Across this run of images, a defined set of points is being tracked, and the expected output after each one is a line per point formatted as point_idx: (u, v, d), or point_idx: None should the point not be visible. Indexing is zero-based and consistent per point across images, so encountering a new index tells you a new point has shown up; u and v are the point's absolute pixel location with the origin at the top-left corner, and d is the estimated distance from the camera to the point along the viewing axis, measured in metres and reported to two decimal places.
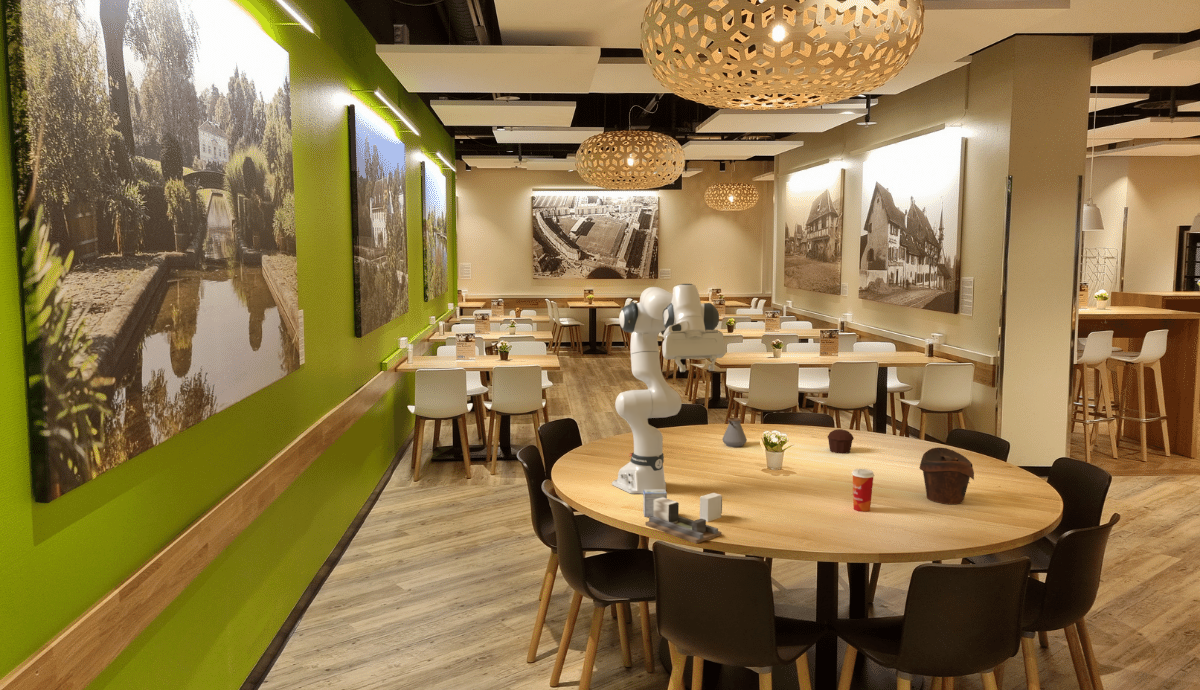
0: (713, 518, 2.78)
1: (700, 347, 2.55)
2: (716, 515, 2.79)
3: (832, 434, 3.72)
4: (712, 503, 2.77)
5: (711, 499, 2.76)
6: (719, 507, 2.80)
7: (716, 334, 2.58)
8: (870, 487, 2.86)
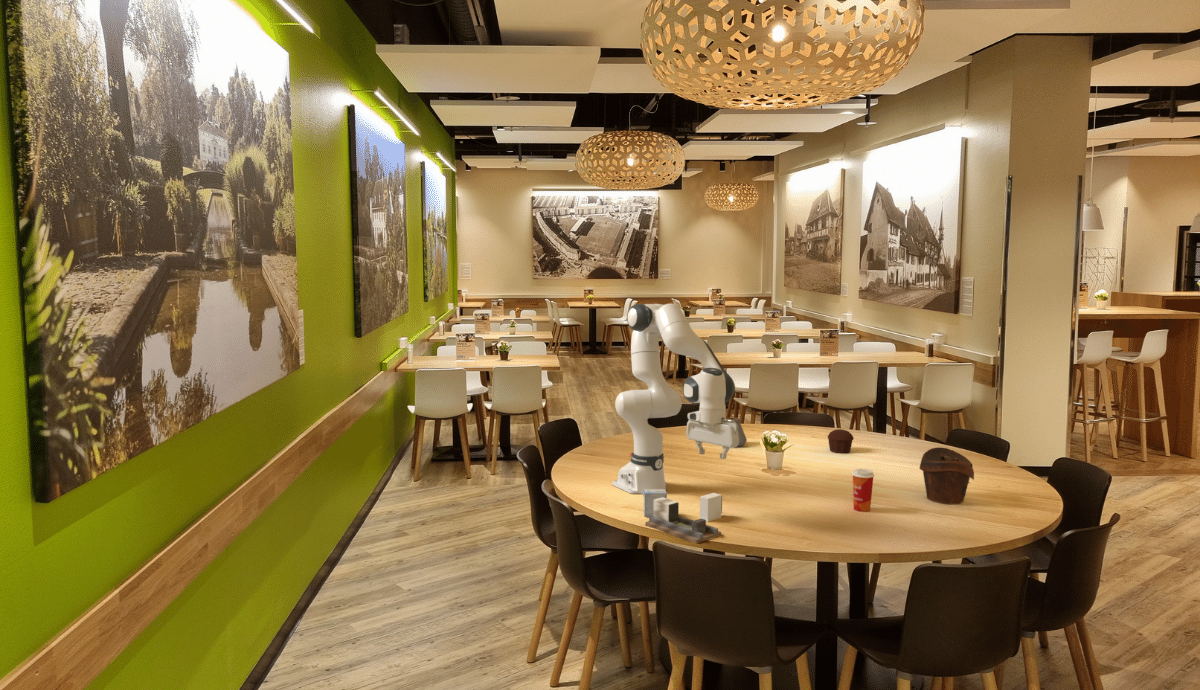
0: (713, 518, 2.78)
1: (712, 437, 2.73)
2: (716, 515, 2.79)
3: (832, 434, 3.72)
4: (712, 503, 2.77)
5: (711, 499, 2.76)
6: (719, 507, 2.80)
7: (726, 427, 2.69)
8: (870, 487, 2.86)
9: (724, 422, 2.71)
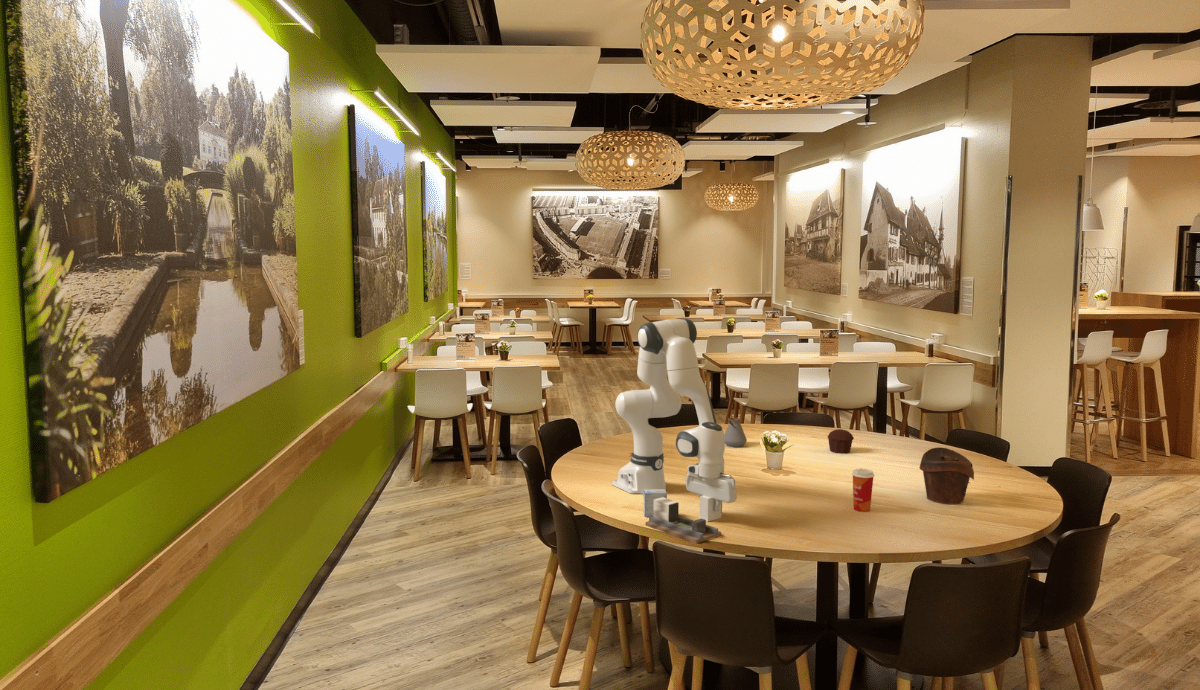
0: (713, 518, 2.78)
1: (710, 491, 2.76)
2: (716, 514, 2.79)
3: (832, 434, 3.72)
4: (712, 503, 2.77)
5: (711, 499, 2.76)
6: None
7: (724, 482, 2.71)
8: (870, 487, 2.86)
9: (722, 477, 2.74)
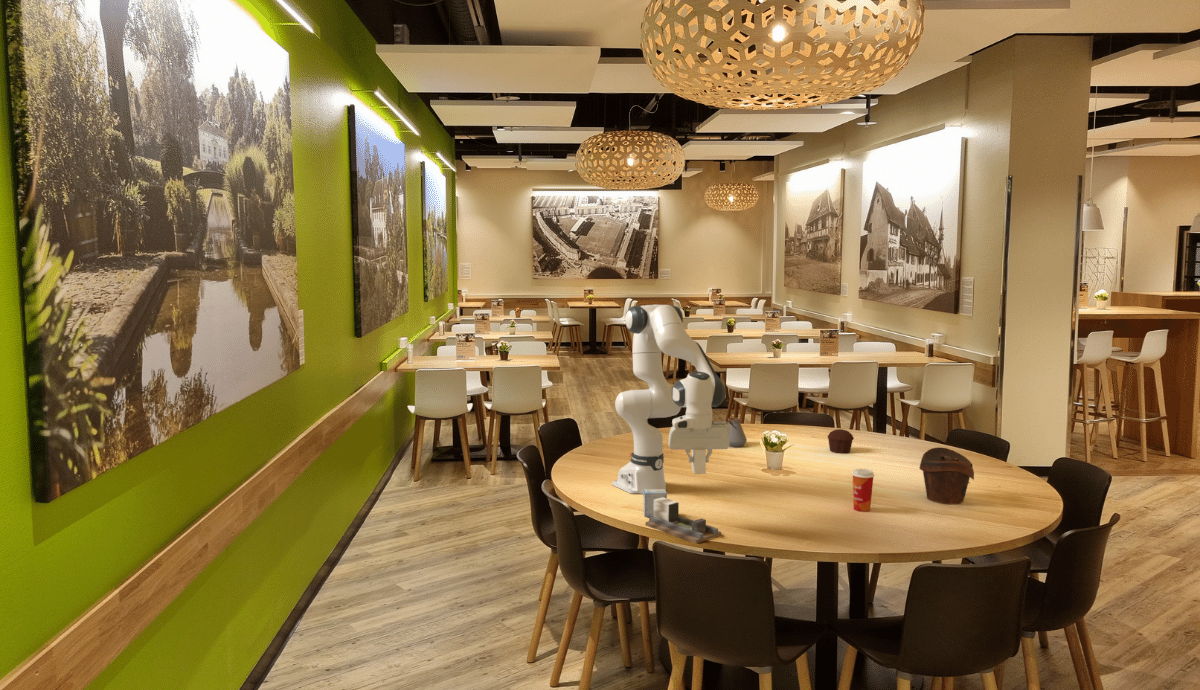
0: None
1: (704, 442, 2.68)
2: None
3: (832, 434, 3.72)
4: None
5: (704, 450, 2.68)
6: None
7: (722, 429, 2.68)
8: (870, 487, 2.86)
9: (715, 425, 2.69)
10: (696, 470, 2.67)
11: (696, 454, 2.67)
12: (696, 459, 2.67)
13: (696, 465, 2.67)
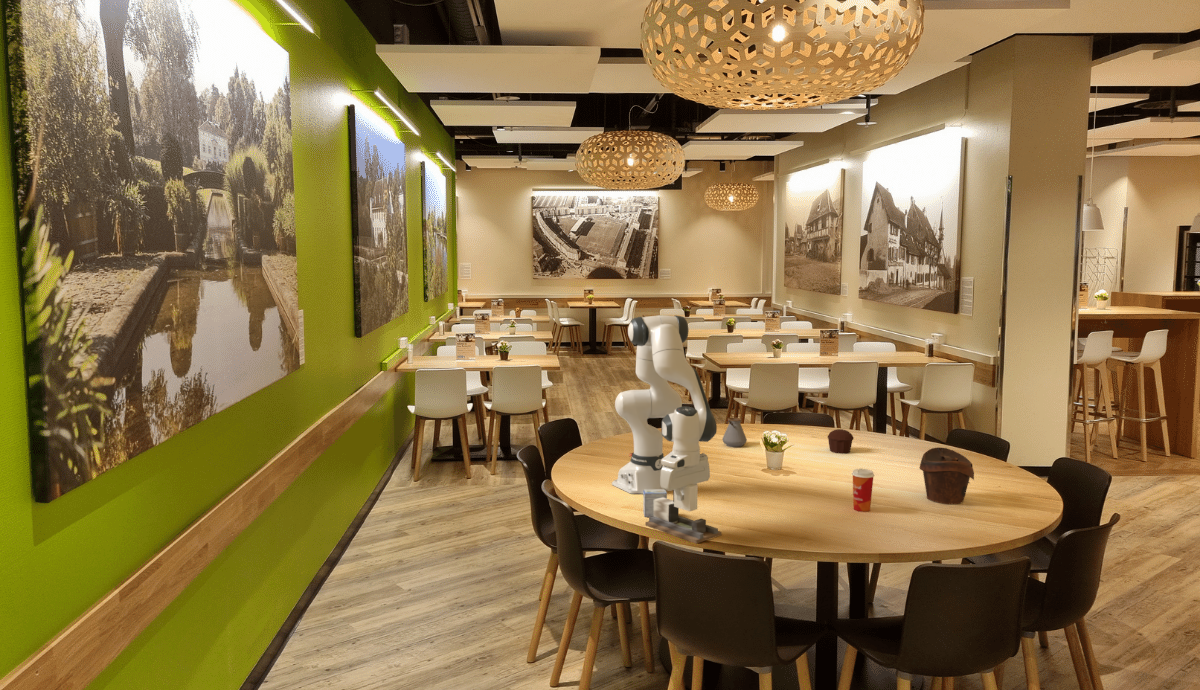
0: None
1: (693, 478, 2.65)
2: None
3: (832, 434, 3.72)
4: None
5: None
6: None
7: (705, 461, 2.68)
8: (870, 487, 2.86)
9: None
10: (691, 507, 2.63)
11: (691, 491, 2.62)
12: (691, 496, 2.62)
13: (691, 502, 2.62)
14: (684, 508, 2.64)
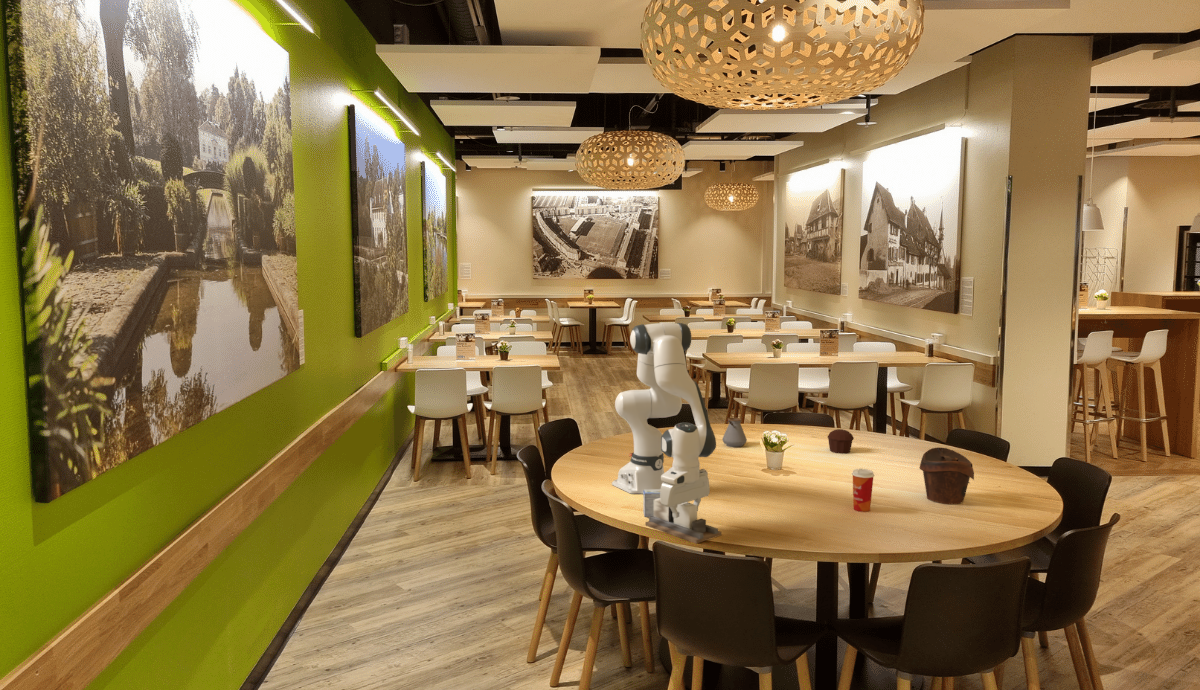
0: None
1: (692, 494, 2.65)
2: None
3: (832, 434, 3.72)
4: None
5: None
6: None
7: (705, 477, 2.69)
8: (870, 487, 2.86)
9: None
10: (690, 527, 2.63)
11: (690, 511, 2.63)
12: (690, 516, 2.63)
13: (690, 522, 2.63)
14: None
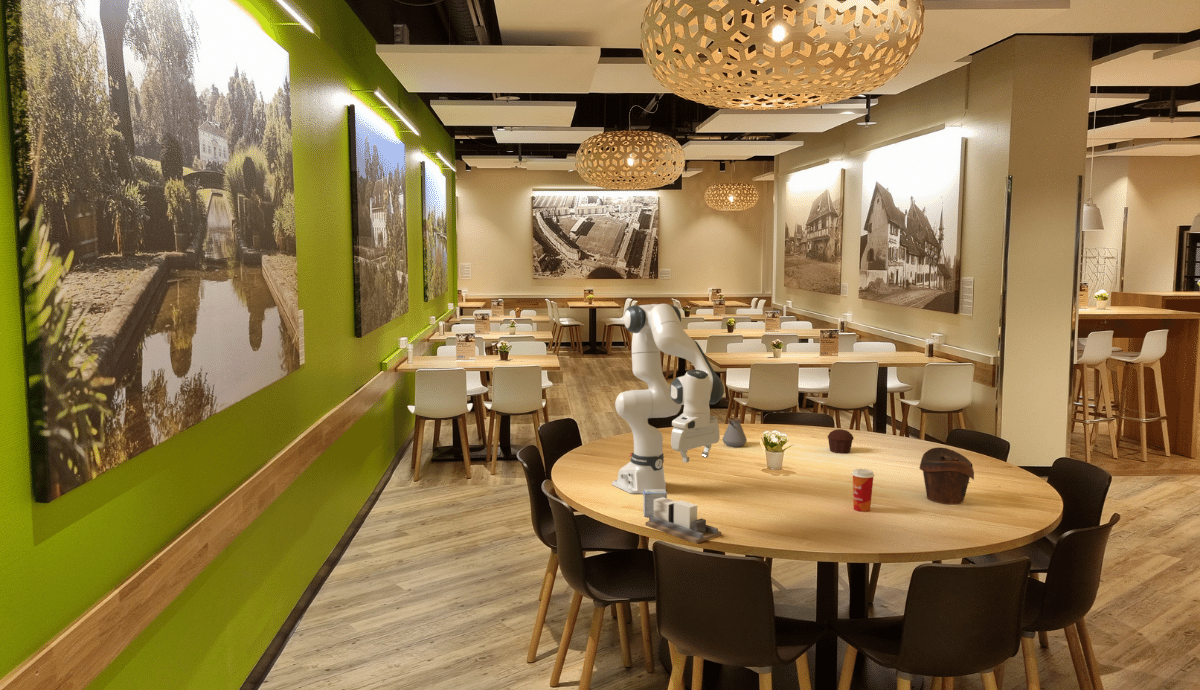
0: None
1: (703, 439, 2.71)
2: None
3: (832, 434, 3.72)
4: None
5: None
6: None
7: (715, 424, 2.74)
8: (870, 487, 2.86)
9: None
10: (690, 527, 2.63)
11: (690, 511, 2.63)
12: (690, 516, 2.63)
13: (690, 522, 2.63)
14: None
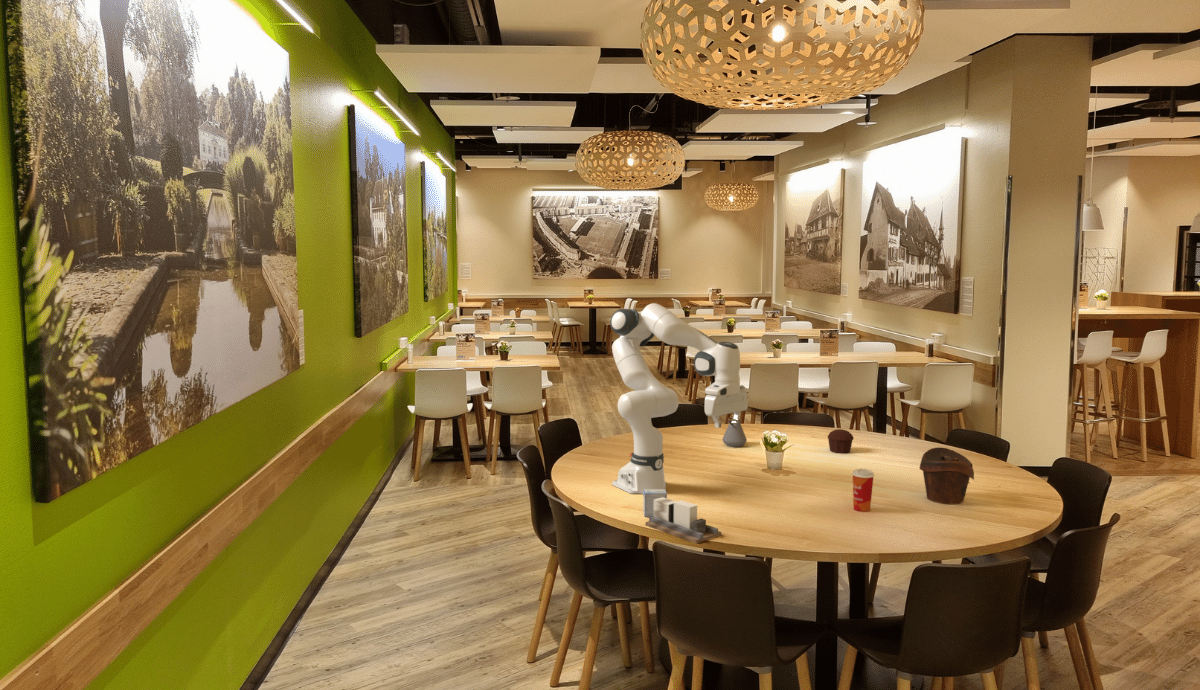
0: None
1: (733, 406, 2.91)
2: None
3: (832, 434, 3.72)
4: None
5: None
6: None
7: (744, 392, 2.94)
8: (870, 487, 2.86)
9: None
10: (690, 527, 2.63)
11: (690, 511, 2.63)
12: (690, 516, 2.63)
13: (690, 522, 2.63)
14: None
